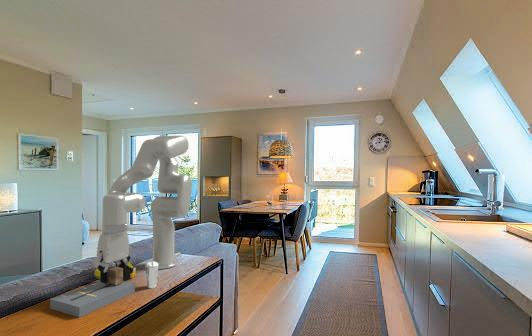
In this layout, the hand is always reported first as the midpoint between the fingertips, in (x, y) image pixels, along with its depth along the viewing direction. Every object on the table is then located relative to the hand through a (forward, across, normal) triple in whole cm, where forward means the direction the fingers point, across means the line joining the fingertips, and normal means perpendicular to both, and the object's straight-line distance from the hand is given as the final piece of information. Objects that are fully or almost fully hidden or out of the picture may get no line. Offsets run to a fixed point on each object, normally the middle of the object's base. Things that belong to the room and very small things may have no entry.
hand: (113, 278), depth 104 cm
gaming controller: (+5, -10, -10) cm, 15 cm away
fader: (+1, 0, 0) cm, 1 cm away
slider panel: (+5, +7, 0) cm, 8 cm away
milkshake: (+5, -9, +9) cm, 14 cm away
